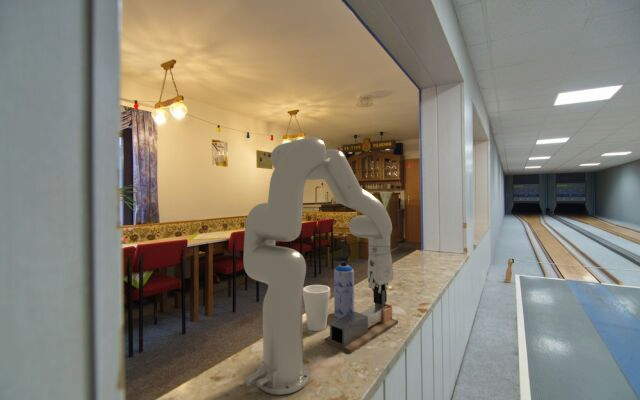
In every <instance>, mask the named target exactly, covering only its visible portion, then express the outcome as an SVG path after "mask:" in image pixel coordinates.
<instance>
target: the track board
mask: <svg viewBox="0 0 640 400" xmlns="http://www.w3.org/2000/svg"><path fill="white" fill-rule="evenodd" d="M398 324H399V320H398V319H395V318H392V319H391V320H389V321H387V322H386V323H383V322H380V321H379V322H378V323H376V324H374V325H372V326H371V327H369V328H368V333H367V334H365V335H364V336H362V337H360V338H359V339H357V340H355V341H354V342H352V343H350V344H349V345H347V346H345V347H343V346H340V345H338V344H336V343H334V342H331V341H330V335H329V336H326V337H325V338H324V339H323V340H324V341H323V342H325V343H327V344H328V345H331V346H333V347H335V348H337V349H340V350H342V351H343V352H346V353H348V354H352V353H354V352H355V351H357V350H358V349H360V348H361V347H363V346H365V345H366V344H368V343H369V342H371V341H373V340H374V339H376V338H378V337H379V336H381V335H382V334H384V333H385V332H387V331H389V330H390V329H391V328H393V327H395V326H396V325H398Z"/></svg>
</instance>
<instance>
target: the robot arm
mask: <svg viewBox="0 0 640 400" xmlns="http://www.w3.org/2000/svg"><path fill="white" fill-rule="evenodd" d="M270 163H271V165H272V167H273V168H274V169H273V171H272V174H271V175H270V176H271V177H270V181H269V189H268V198H267V202H264V203H259V204H257V205H255V206H254V207H252V208H251V210H249V212H248V214H247V217H246V219H245V224H244V225H245V226H244V239H243V240H244V241H243V256H242V257H243V258H242V259H243V268H244V271H245V273H246V274H247V276H248V277H249V278H251V279H253V280H255V281H257V282H261V283H263V284H266V285H268V287H267V290H266V293H265V296H264V298H263V303H262V344H263V345H262V346H263V347H262V349H263V350H262V351H263V352H262V355H263V356H262V359H263V361H261V362H259V368H258V369H256V372H253V373H252V374H249V375H247V376H245V378H244V384H245V385H246V386H247V387H250V386H251V385H253V384H255V383H256V386H257V387H258V388H259V389H261V391H264V392H265V393H268V394H271V395H278V396H279V395H280V396H281V395H289V394H292V393H296V392H297V391H300V390H301V389H302V388H304V387H305V386H306V385H307V384H308V382H309V380H310V369H309V368H308V366H307V365H306V364H305V363H304V349H303V346H304V344H303V343H304V341H303V340H304V339H303V338H304V337H303V331H304V330H303V325H304V324H303V288H304V284H305V281H306V280H305V278H306V274H307V263H306V259H305V258H304V256H303V254H302V253H300V252H299V251H297V250H296V249H293V248H290V247H286V246H279V245H276V243H277V242H286V243H287V242H292V241H295V240H296V239H297V238H299V237H300V235H301V231H302V225H303V209H304V208H303V207H304V192H305V185H306V182H307V180H310V181H311V180H313V181H314V180H315V181H316V180H324V181H325V182H326V184H327V187H328V188H329V189H330V191H331V193H332V194H333V196H334V198H335V200H336V202H338V203H339V204H341V205H343V206H345V207H347V208H350V209H352V210H355V211H357V212H360V213H362V215H356V216H354V217H352V218H350V221H349V223H348V229H349V232H350V233H351V234H352V235H353V236H354V237H358V238H362V239H363V238H364V239H368V260H367V272H366V273H367V283H368V288H370V289H372V290H371V291H372V292H373V303H374V304H375V303H377V304H382V293H381V289H384V290H385V303H387V299H388V298H387V297H388V296H387V293H388V292H387V291H388V284H389V282H390V283H391V282H392V281H393V280H394V267H393V257H392V254H391V253H392V252H391V235H392V231H393V225H392V221H391V220H392V219H391V218H390V215H389V212H388V210H387V209H386V207H385V205H384V204H383V203H382V202H381V200H379V199H377V198H376V197H375V196H374V195H373V194H371V192H368V191H367V190H366V189H363V187H361V185H360V183H359V180H358V179H357V177H356V176H355V173H354V172H353V169H352V167H351V165H350V163H349V161H348V160H347V157H346V155H345V154H344V153H343V151H341V150H339V149H327V147H326V143H325V142H324V140H322V139H320V138H319V137H313V136H310V137H304V138H300V139H295V140H293V141H287V142H285V143H281V144H279V145H277V146H276V147H274V148H273V150H272V152H271V154H270Z"/></svg>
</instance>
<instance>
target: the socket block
mask: <svg viewBox="0 0 640 400" xmlns="http://www.w3.org/2000/svg"><path fill="white" fill-rule="evenodd" d="M374 306H375V304H374V305H372V306H371V307H370V308H372V307H374ZM385 306H388V308H387V309H385V310H383V320H381V321H380V322H383V323H386V322H387V321H389V320H391V319H393V304H392V303H387V302H385Z"/></svg>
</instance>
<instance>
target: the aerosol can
mask: <svg viewBox="0 0 640 400" xmlns="http://www.w3.org/2000/svg"><path fill="white" fill-rule="evenodd" d="M347 262H348V261H345V260H342V261H341V260H340V264H339V265H338V266H336V268H334V271H333V285H334V286H333V287H334V288H333V289H334V290H333V291H334V293H333V294H334V295H333V296H334V299H333V300H334V303H333V305H334V312H333V315H334V317H336V318H337V319H339V318H341V317H343V316H346V315H348V314H350V313H352V312H355V271H354V268H352V266H351V265H348V263H347Z"/></svg>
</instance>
